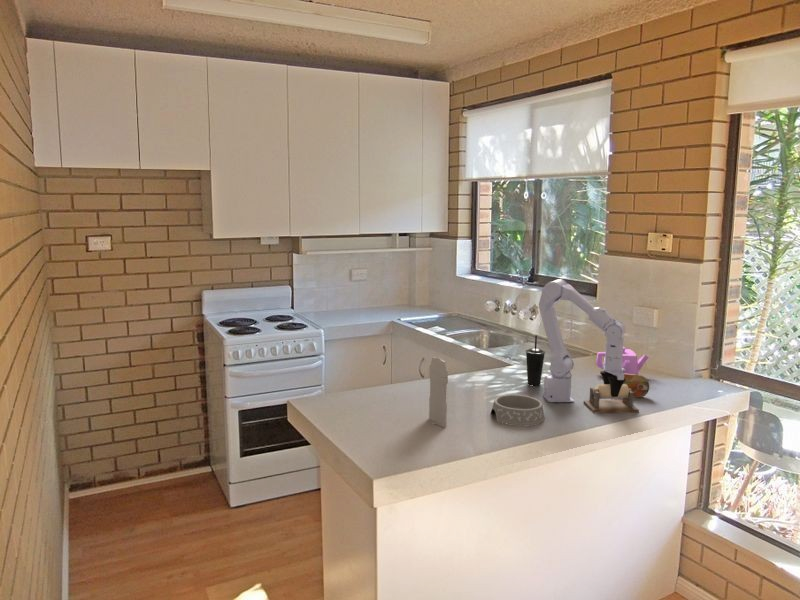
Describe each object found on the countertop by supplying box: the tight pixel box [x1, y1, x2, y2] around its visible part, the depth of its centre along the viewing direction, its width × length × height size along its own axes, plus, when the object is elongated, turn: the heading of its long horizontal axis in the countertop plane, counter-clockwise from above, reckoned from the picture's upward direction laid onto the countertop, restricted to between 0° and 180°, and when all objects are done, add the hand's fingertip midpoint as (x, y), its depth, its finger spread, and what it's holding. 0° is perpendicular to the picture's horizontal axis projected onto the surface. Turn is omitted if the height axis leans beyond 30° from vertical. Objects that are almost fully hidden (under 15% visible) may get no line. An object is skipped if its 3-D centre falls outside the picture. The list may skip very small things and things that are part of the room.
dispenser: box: [428, 356, 449, 428], centre depth 200 cm, size 11×4×22 cm, turn 28°
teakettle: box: [595, 346, 650, 375], centre depth 257 cm, size 17×17×12 cm
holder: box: [583, 387, 640, 414], centre depth 218 cm, size 16×10×6 cm, turn 93°
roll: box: [593, 383, 631, 400], centre depth 217 cm, size 13×5×5 cm, turn 93°
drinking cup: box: [525, 334, 546, 387], centre depth 243 cm, size 8×8×20 cm
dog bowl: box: [490, 394, 546, 427], centre depth 209 cm, size 17×18×5 cm
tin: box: [623, 373, 650, 399], centre depth 232 cm, size 15×3×8 cm, turn 62°
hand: (611, 394), depth 217 cm, fingers closed on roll, 5 cm apart
